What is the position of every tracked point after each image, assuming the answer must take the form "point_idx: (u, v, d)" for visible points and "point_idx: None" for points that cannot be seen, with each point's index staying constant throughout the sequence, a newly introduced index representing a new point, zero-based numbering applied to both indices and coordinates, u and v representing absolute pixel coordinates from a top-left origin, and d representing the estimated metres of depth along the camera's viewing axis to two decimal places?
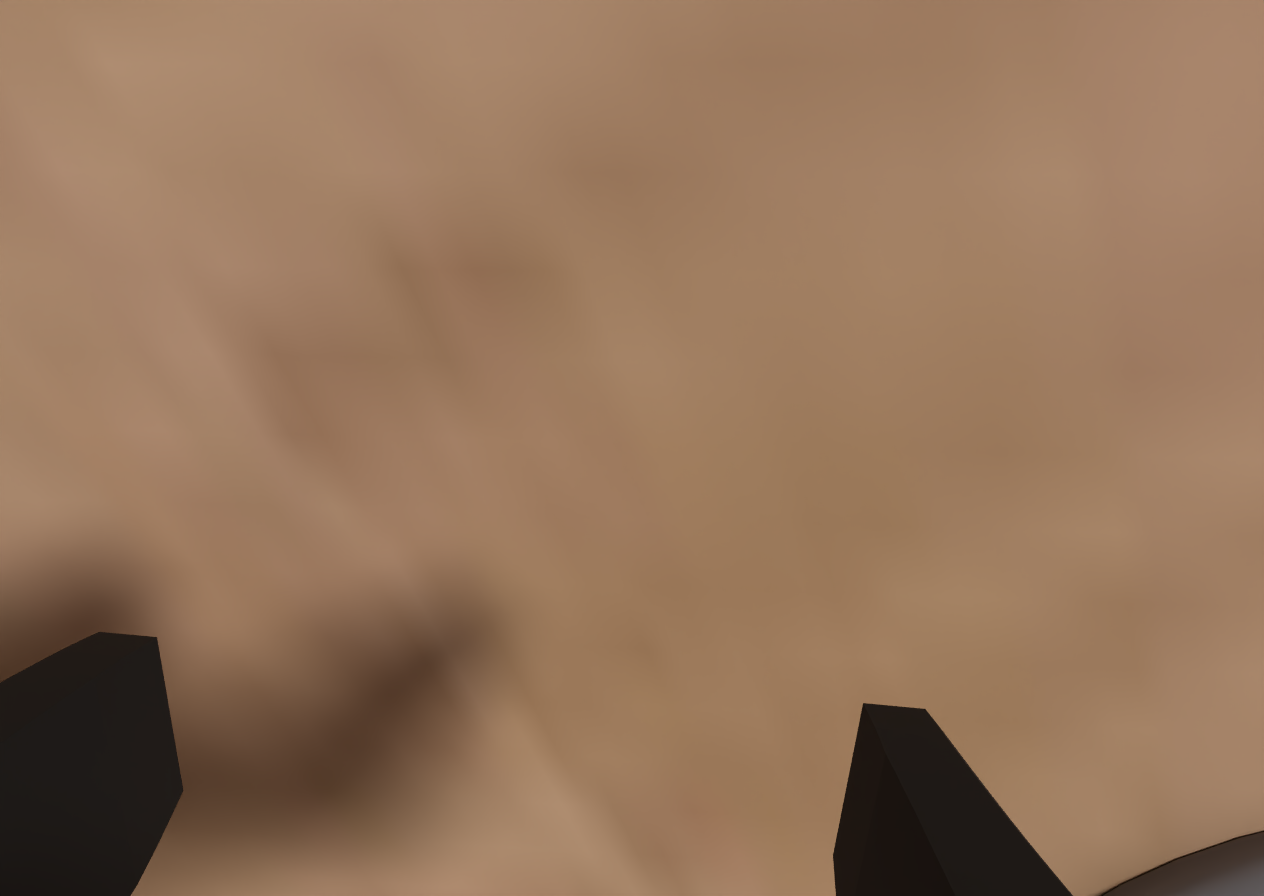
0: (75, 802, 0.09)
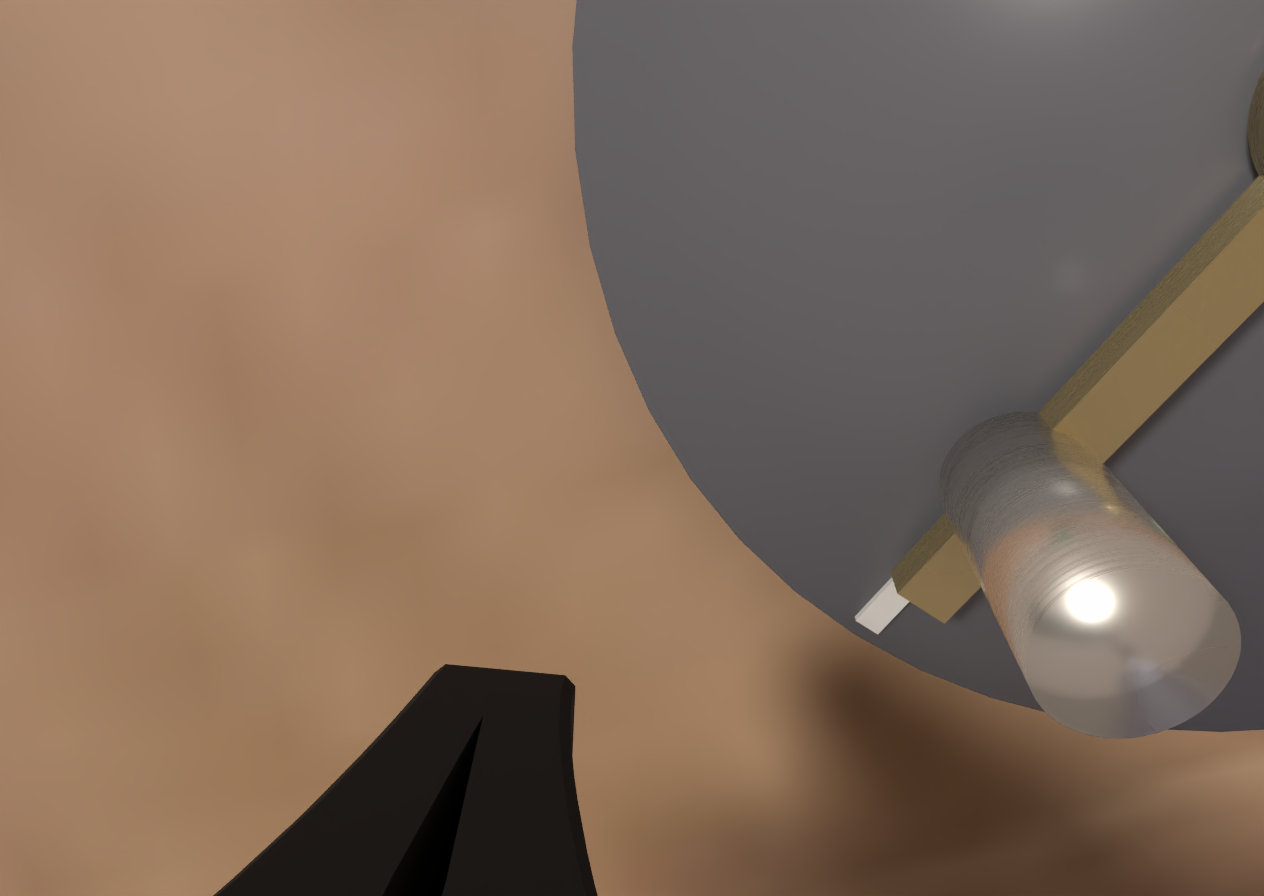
0: None
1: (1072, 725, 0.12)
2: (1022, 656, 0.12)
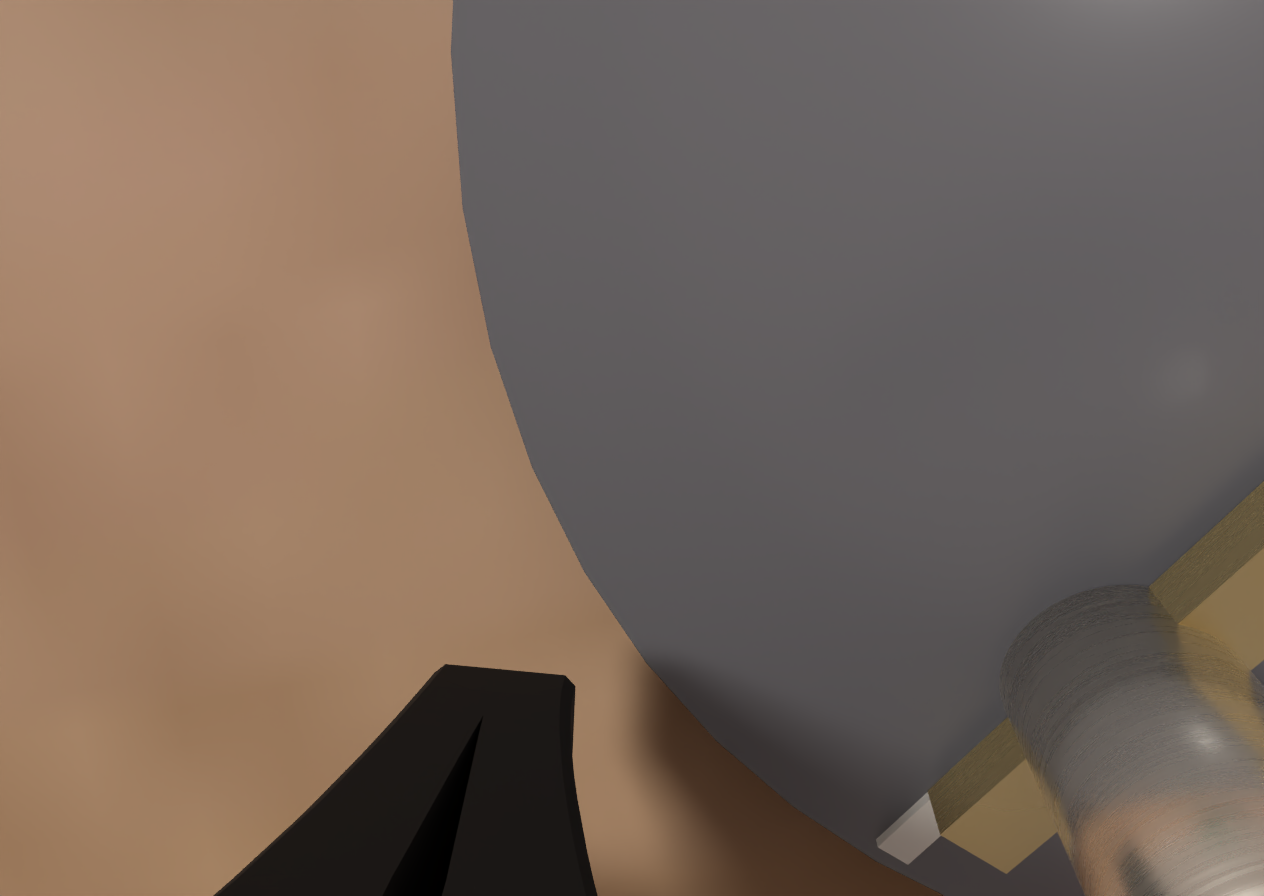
0: None
1: None
2: None
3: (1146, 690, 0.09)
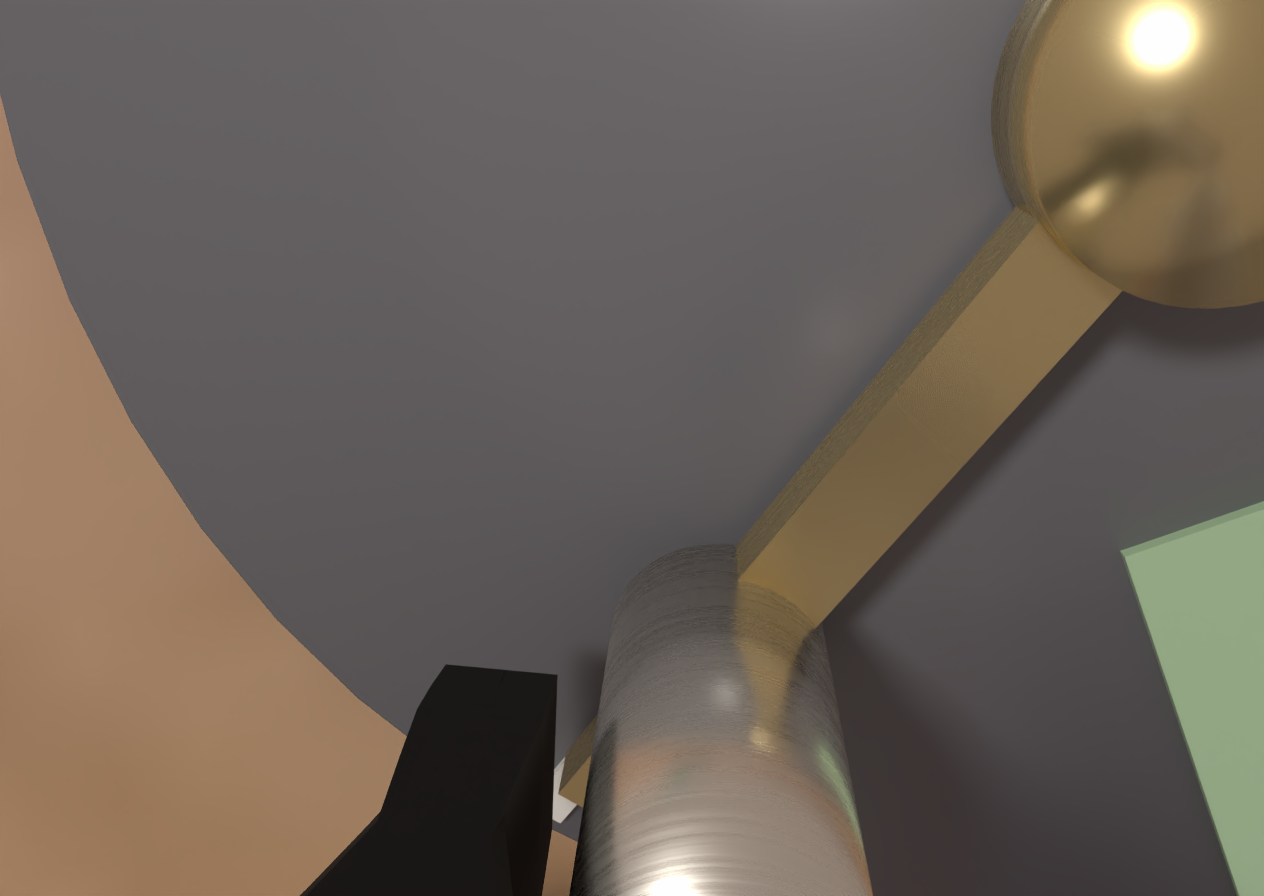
0: (526, 847, 0.08)
1: None
2: None
3: (668, 642, 0.09)
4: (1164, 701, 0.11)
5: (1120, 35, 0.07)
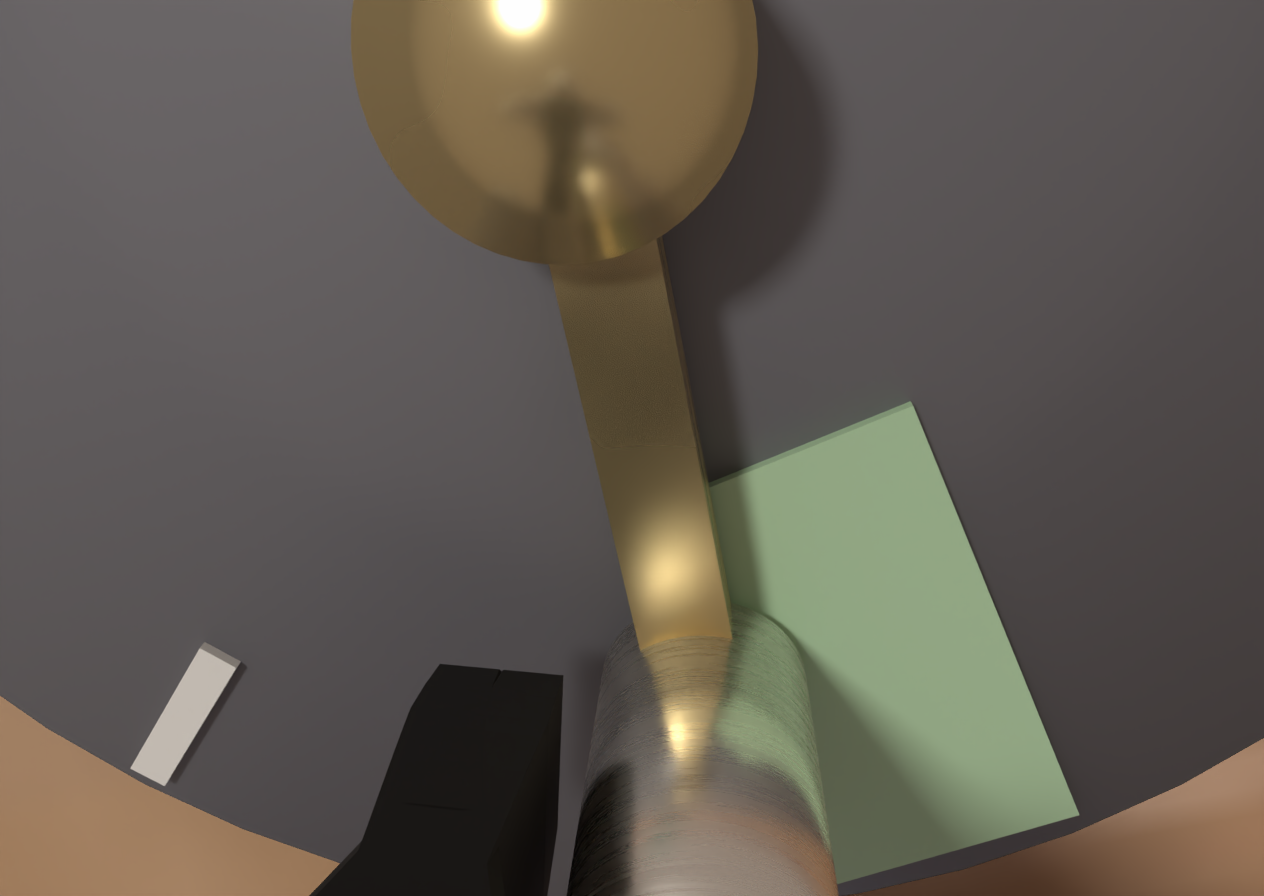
0: (532, 848, 0.08)
1: None
2: None
3: (593, 752, 0.10)
4: None
5: (420, 116, 0.08)
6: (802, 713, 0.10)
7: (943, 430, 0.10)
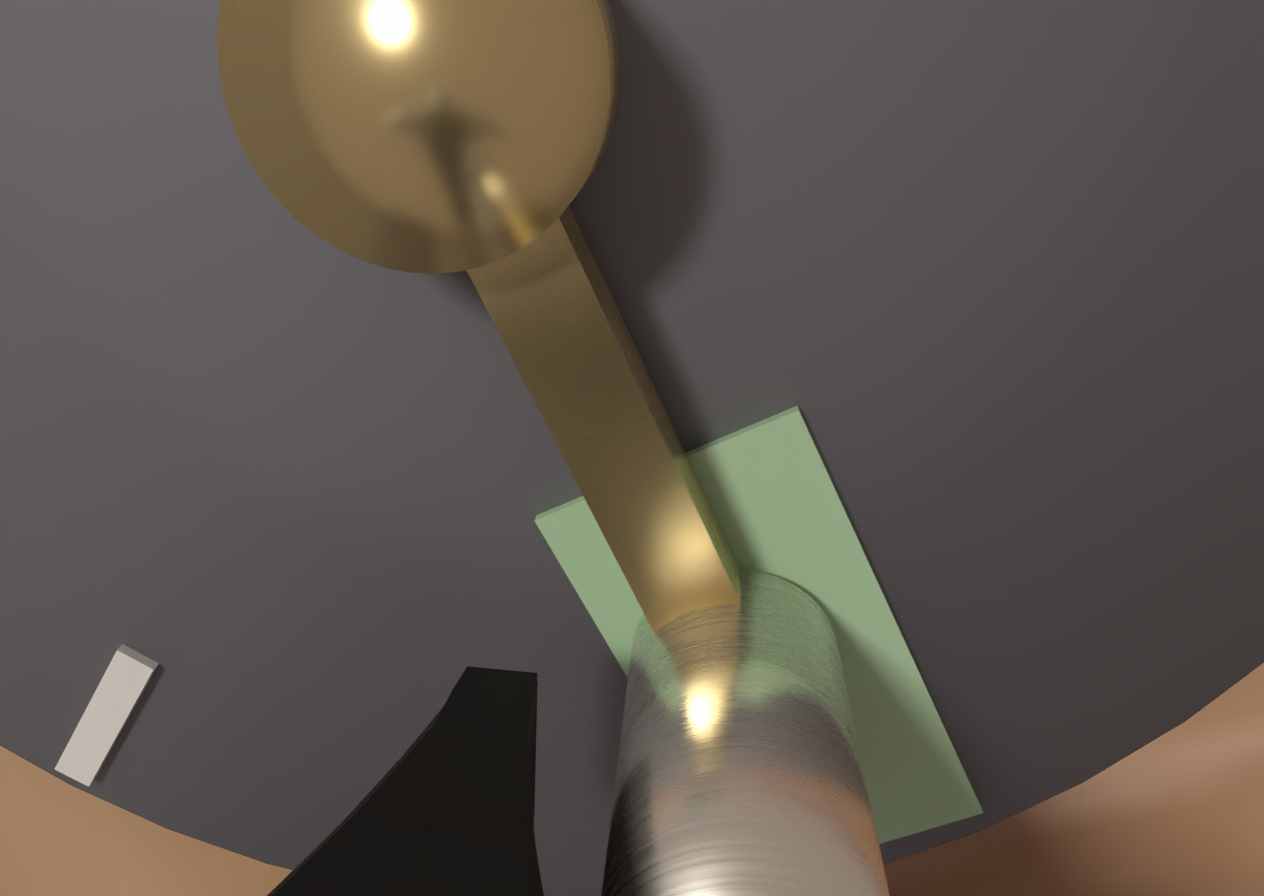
0: None
1: None
2: None
3: (621, 739, 0.10)
4: (616, 662, 0.12)
5: (305, 158, 0.08)
6: (822, 663, 0.10)
7: (830, 434, 0.10)
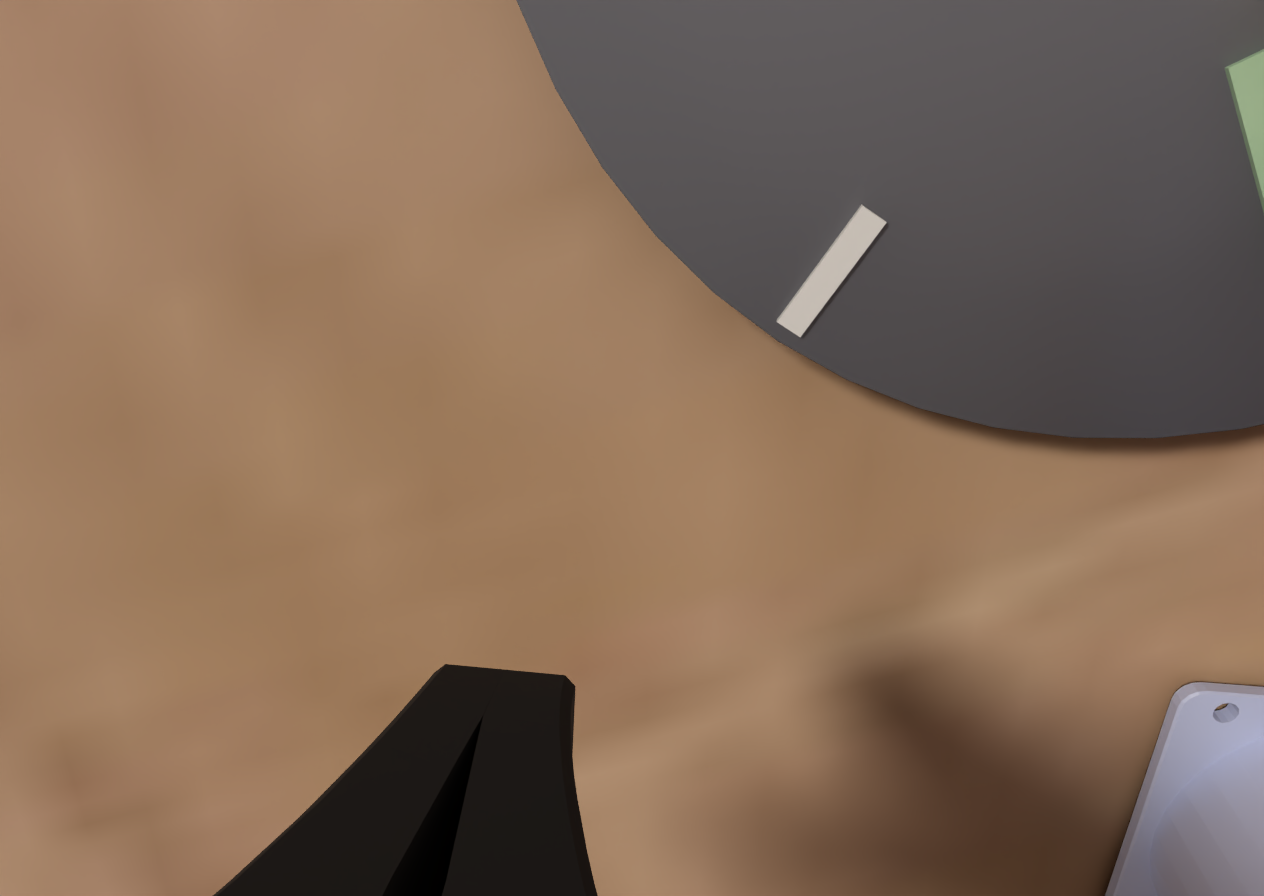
0: None
1: None
2: None
3: None
4: (1254, 198, 0.16)
5: None
6: None
7: None
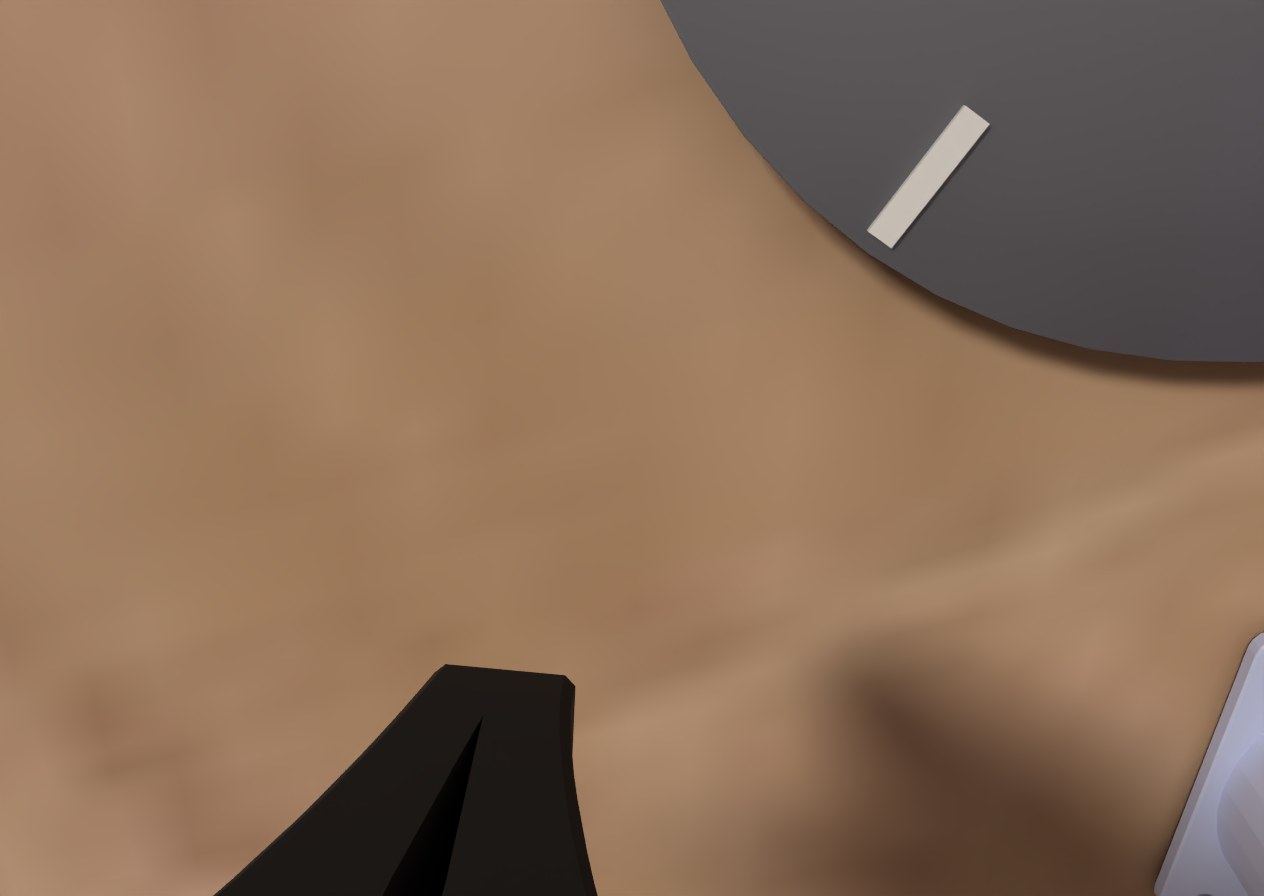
0: None
1: None
2: None
3: None
4: None
5: None
6: None
7: None
